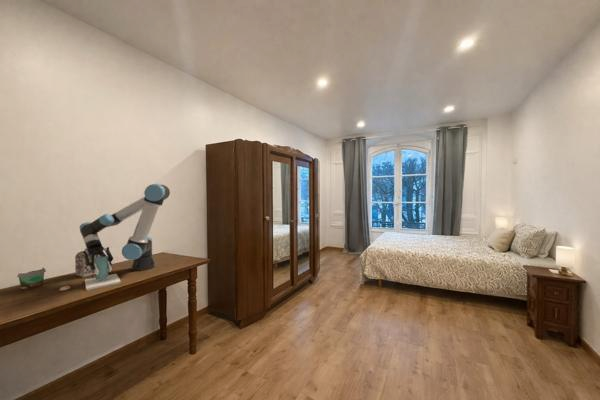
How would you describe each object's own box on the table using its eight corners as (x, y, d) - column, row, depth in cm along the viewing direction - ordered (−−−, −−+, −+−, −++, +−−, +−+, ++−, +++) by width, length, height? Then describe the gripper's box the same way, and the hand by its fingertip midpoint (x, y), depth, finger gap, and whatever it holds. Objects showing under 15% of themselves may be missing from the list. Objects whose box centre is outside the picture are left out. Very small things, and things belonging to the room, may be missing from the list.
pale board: (116, 275, 164) (116, 273, 164) (120, 283, 150) (120, 281, 150) (84, 281, 153) (84, 279, 153) (86, 290, 139) (86, 288, 139)
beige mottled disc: (68, 287, 144) (68, 285, 144) (71, 289, 142) (71, 287, 142) (58, 290, 140) (58, 288, 140) (60, 291, 138) (60, 289, 138)
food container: (25, 291, 138) (25, 274, 138) (17, 290, 139) (17, 273, 139) (51, 283, 150) (51, 267, 150) (44, 283, 151) (43, 267, 151)
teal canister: (107, 275, 156) (106, 255, 155) (108, 277, 151) (107, 257, 151) (95, 277, 152) (94, 257, 151) (96, 280, 147) (95, 258, 147)
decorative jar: (104, 272, 171) (103, 247, 170) (83, 277, 161) (82, 250, 160) (95, 270, 176) (94, 245, 176) (75, 275, 166) (74, 249, 166)
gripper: (108, 243, 167) (120, 271, 159) (72, 249, 151) (83, 280, 143) (111, 236, 164) (123, 264, 156) (75, 241, 148) (86, 272, 140)
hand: (104, 271), depth 149 cm, fingers closed on teal canister, 6 cm apart
